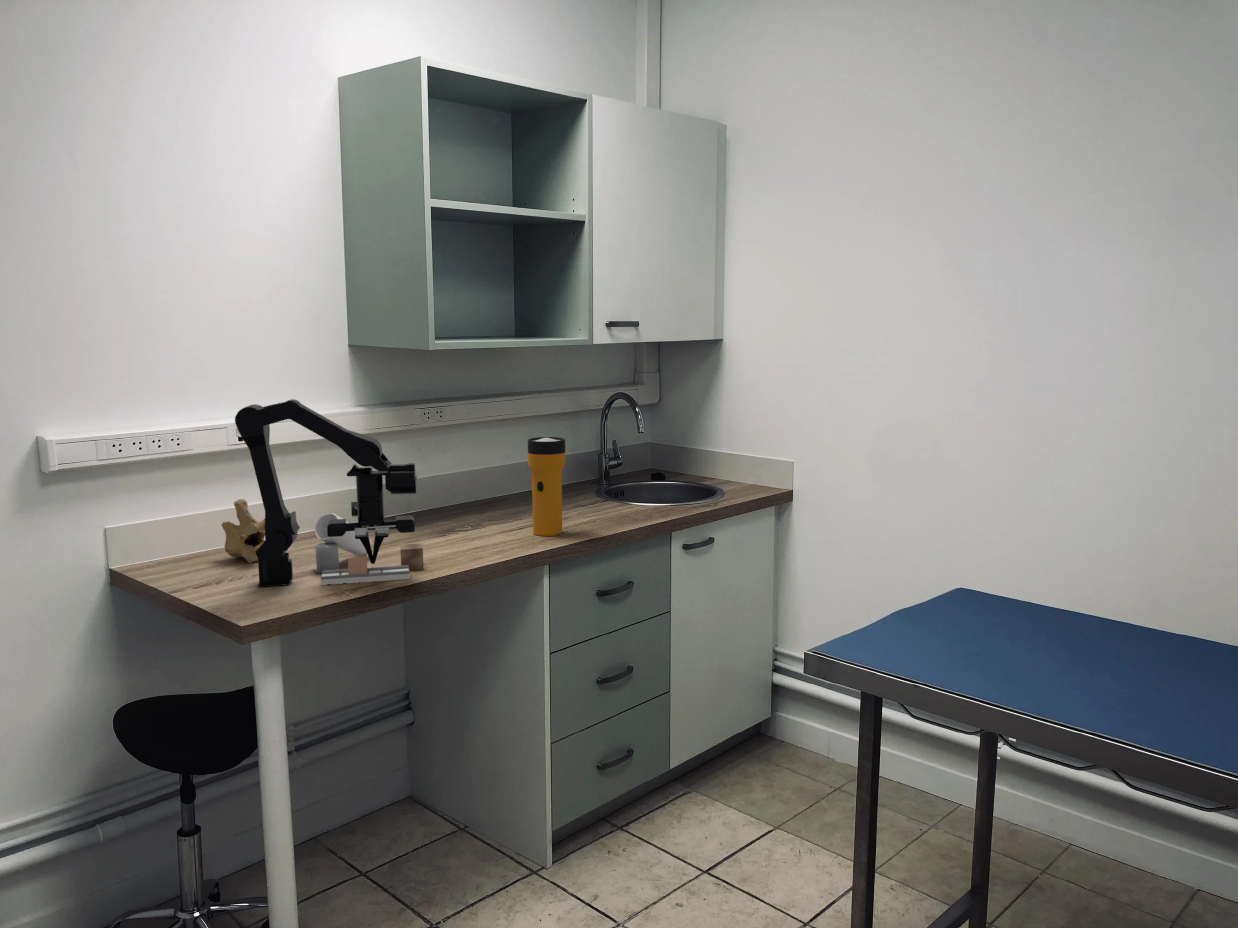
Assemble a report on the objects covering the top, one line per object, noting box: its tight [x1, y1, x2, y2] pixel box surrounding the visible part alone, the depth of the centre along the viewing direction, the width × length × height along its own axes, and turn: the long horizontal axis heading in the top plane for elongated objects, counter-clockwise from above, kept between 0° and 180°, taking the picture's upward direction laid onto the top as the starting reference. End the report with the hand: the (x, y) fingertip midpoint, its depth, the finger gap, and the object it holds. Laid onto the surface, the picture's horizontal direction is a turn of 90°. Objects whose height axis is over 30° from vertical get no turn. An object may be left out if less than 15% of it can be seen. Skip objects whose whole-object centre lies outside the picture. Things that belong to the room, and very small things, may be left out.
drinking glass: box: [314, 512, 373, 554], centre depth 232 cm, size 7×7×15 cm
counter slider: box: [347, 553, 368, 575], centre depth 217 cm, size 4×4×4 cm
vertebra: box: [221, 498, 265, 564], centre depth 234 cm, size 9×14×15 cm, turn 47°
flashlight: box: [527, 436, 566, 537], centre depth 260 cm, size 10×26×10 cm
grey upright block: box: [315, 542, 340, 574], centre depth 225 cm, size 5×5×6 cm
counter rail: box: [320, 565, 411, 586], centre depth 218 cm, size 19×6×2 cm, turn 104°
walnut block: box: [399, 543, 425, 571], centre depth 228 cm, size 5×5×5 cm
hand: (373, 563), depth 218 cm, fingers closed
